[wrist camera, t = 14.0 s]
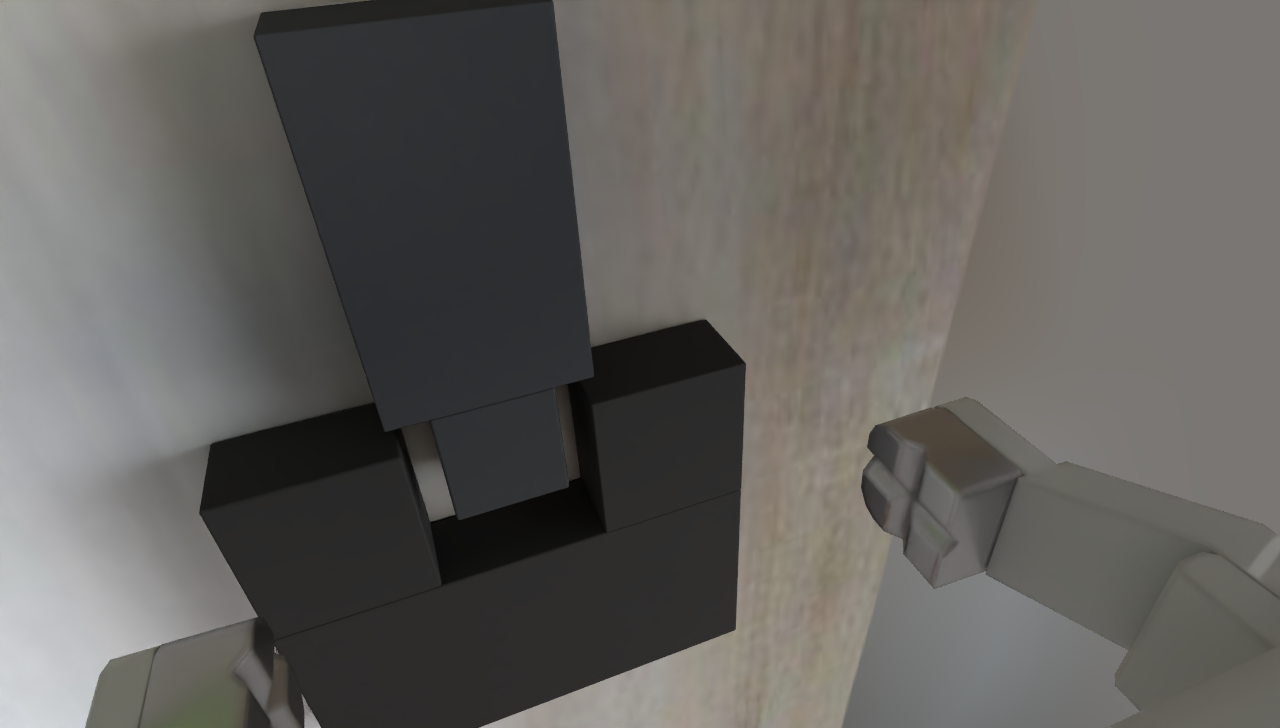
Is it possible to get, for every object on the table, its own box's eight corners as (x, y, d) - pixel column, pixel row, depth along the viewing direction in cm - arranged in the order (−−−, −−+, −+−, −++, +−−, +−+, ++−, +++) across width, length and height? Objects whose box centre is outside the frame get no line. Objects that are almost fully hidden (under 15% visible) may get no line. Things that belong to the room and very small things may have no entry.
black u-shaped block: (706, 318, 25) (746, 363, 23) (706, 578, 34) (736, 630, 31) (209, 443, 21) (197, 513, 19) (345, 706, 29) (348, 778, 27)
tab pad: (521, -16, 18) (553, -1, 16) (578, 423, 26) (605, 477, 24) (260, 12, 16) (252, 34, 14) (406, 471, 24) (418, 533, 22)
